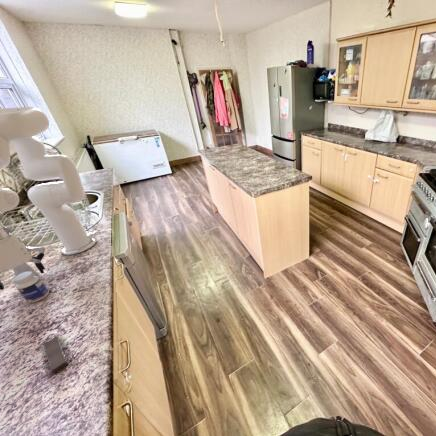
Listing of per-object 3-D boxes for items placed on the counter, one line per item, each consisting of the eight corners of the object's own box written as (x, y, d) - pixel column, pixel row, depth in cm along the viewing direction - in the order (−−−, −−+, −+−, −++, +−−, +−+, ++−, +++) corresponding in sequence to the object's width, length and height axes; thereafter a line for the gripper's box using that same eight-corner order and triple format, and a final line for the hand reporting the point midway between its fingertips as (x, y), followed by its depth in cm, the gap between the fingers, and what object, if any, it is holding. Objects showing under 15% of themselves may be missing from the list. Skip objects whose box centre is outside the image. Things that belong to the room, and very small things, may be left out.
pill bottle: (24, 305, 80) (5, 284, 75) (33, 293, 85) (16, 273, 80) (45, 299, 82) (28, 278, 77) (52, 288, 87) (37, 268, 82)
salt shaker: (29, 288, 87) (7, 261, 81) (18, 287, 88) (-5, 260, 82) (46, 277, 92) (27, 251, 86) (35, 276, 93) (15, 250, 87)
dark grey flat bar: (45, 346, 66) (43, 343, 66) (59, 338, 68) (57, 335, 68) (53, 373, 59) (51, 371, 59) (68, 364, 61) (66, 361, 61)
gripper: (28, 222, 79) (54, 262, 87) (-55, 246, 67) (-16, 290, 75) (30, 228, 75) (58, 270, 82) (-58, 255, 63) (-16, 300, 71)
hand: (23, 279), depth 79 cm, fingers open, 9 cm apart
